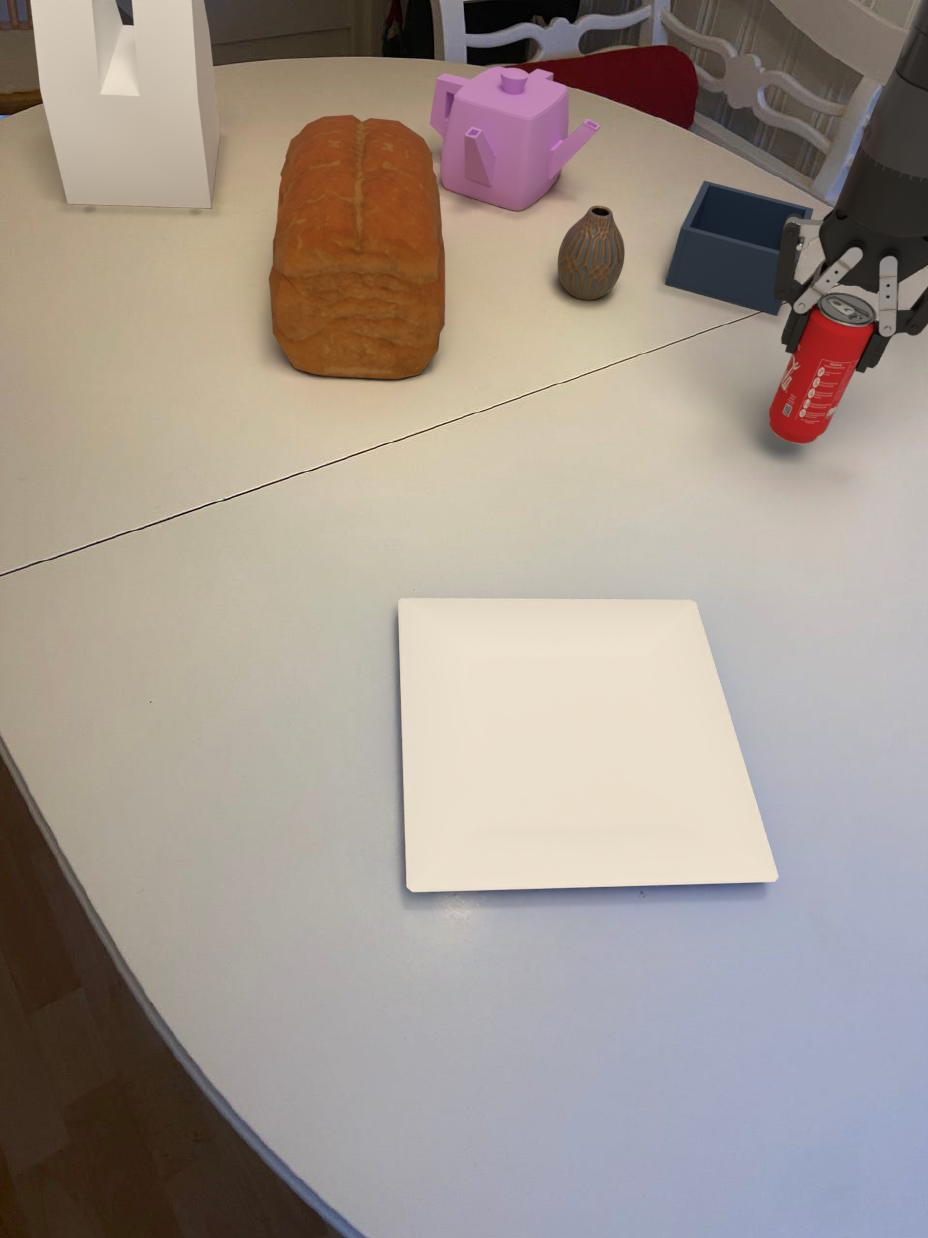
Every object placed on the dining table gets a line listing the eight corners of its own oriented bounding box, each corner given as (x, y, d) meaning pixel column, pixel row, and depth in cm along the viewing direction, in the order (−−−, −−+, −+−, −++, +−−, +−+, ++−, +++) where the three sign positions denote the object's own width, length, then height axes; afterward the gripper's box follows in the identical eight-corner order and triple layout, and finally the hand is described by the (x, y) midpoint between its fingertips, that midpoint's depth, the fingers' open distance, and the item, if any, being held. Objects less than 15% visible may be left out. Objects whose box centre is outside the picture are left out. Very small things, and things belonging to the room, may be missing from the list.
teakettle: (537, 145, 122) (552, 40, 113) (591, 207, 113) (613, 98, 103) (415, 153, 118) (420, 45, 108) (460, 219, 108) (470, 106, 98)
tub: (792, 262, 108) (814, 208, 103) (777, 315, 100) (798, 259, 95) (688, 234, 110) (704, 180, 105) (664, 284, 102) (680, 227, 97)
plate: (396, 613, 69) (398, 595, 67) (688, 615, 71) (696, 597, 70) (405, 905, 54) (406, 890, 53) (770, 894, 57) (781, 880, 55)
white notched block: (92, 127, 114) (39, -127, 95) (220, 133, 116) (193, -115, 97) (67, 203, 102) (1, -71, 83) (211, 208, 104) (178, -58, 85)
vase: (546, 298, 98) (559, 217, 92) (560, 267, 103) (575, 188, 96) (609, 313, 98) (627, 234, 91) (621, 281, 102) (640, 203, 95)
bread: (434, 239, 104) (444, 88, 92) (444, 384, 87) (458, 221, 75) (289, 231, 102) (279, 76, 90) (270, 377, 85) (255, 209, 73)
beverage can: (796, 454, 80) (852, 333, 71) (752, 421, 83) (801, 300, 74) (834, 434, 83) (893, 315, 73) (790, 403, 85) (842, 284, 76)
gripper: (1023, 152, 65) (914, 357, 78) (820, 105, 68) (747, 312, 81) (1025, 197, 61) (909, 407, 74) (807, 145, 63) (732, 357, 76)
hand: (824, 356), depth 77 cm, fingers closed on beverage can, 5 cm apart
